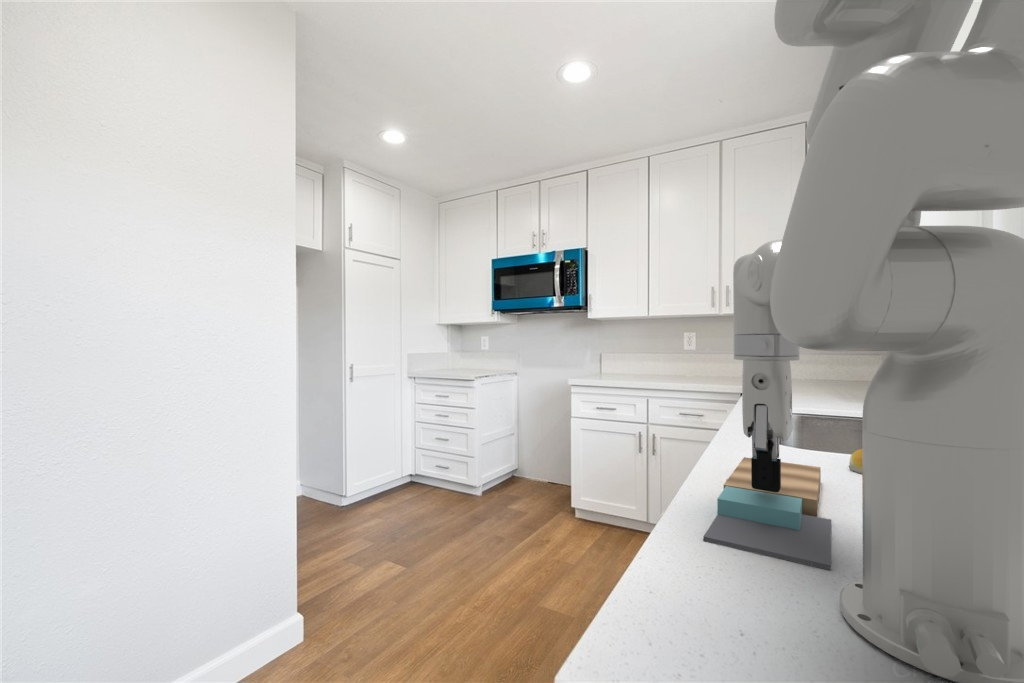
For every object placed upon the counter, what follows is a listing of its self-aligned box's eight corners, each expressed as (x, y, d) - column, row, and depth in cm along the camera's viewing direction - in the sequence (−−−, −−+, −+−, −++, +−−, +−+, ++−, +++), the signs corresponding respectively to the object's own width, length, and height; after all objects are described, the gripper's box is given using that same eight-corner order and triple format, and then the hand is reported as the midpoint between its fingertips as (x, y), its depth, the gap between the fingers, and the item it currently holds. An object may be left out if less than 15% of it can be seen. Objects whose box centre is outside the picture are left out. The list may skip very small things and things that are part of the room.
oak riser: (817, 519, 59) (817, 499, 59) (723, 502, 65) (723, 484, 65) (820, 482, 73) (820, 467, 73) (744, 471, 80) (744, 457, 80)
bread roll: (918, 484, 73) (918, 459, 73) (848, 474, 78) (848, 451, 78) (914, 472, 79) (914, 449, 79) (850, 463, 85) (850, 442, 85)
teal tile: (799, 530, 54) (799, 513, 54) (717, 514, 59) (717, 498, 59) (802, 514, 59) (802, 498, 59) (726, 500, 64) (725, 486, 64)
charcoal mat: (830, 570, 46) (830, 565, 46) (703, 540, 53) (703, 536, 53) (831, 523, 57) (831, 519, 57) (726, 504, 64) (726, 500, 64)
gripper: (795, 350, 52) (795, 513, 52) (802, 347, 64) (803, 479, 64) (723, 349, 56) (723, 500, 56) (743, 347, 68) (743, 470, 68)
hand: (766, 488), depth 60 cm, fingers closed
